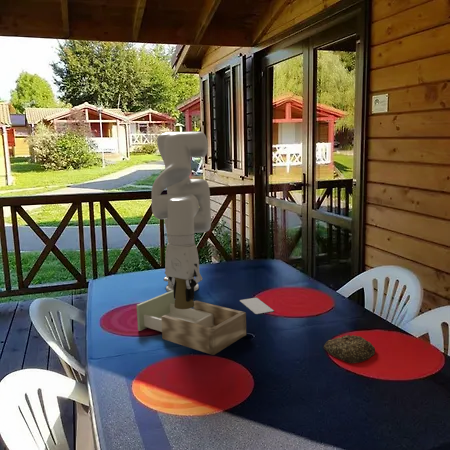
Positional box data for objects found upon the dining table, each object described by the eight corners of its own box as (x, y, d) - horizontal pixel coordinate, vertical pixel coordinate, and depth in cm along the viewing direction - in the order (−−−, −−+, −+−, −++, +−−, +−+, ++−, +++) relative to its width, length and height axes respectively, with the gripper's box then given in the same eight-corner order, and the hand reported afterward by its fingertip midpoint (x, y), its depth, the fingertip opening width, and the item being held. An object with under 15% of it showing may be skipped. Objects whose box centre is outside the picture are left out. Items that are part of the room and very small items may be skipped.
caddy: (162, 338, 140) (161, 316, 139) (197, 321, 153) (196, 300, 151) (213, 355, 129) (212, 331, 128) (246, 334, 142) (245, 312, 140)
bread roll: (348, 368, 121) (348, 349, 120) (317, 349, 132) (318, 332, 131) (385, 356, 127) (386, 338, 126) (353, 339, 138) (353, 323, 137)
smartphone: (255, 314, 157) (238, 300, 171) (255, 315, 157) (238, 301, 171) (274, 311, 159) (256, 297, 173) (274, 312, 159) (256, 298, 173)
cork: (197, 303, 145) (196, 268, 143) (189, 310, 140) (188, 274, 138) (179, 301, 147) (177, 267, 145) (170, 308, 142) (169, 272, 140)
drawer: (138, 330, 146) (136, 304, 144) (173, 313, 159) (172, 290, 157) (183, 344, 135) (182, 317, 134) (217, 325, 148) (216, 300, 146)
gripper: (152, 238, 142) (155, 297, 145) (195, 245, 132) (197, 308, 135) (169, 234, 148) (171, 290, 151) (211, 240, 138) (213, 300, 141)
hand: (184, 298), depth 143 cm, fingers closed on cork, 4 cm apart
